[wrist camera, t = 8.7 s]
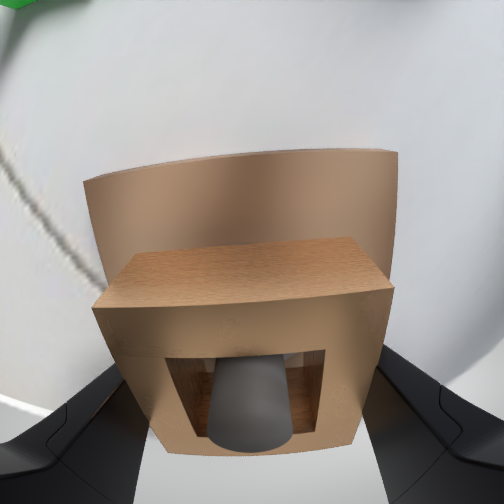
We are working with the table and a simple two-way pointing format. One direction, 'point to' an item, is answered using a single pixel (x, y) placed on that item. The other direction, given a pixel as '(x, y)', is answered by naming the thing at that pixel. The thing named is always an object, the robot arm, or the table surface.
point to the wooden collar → (249, 333)
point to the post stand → (247, 232)
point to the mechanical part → (15, 3)
